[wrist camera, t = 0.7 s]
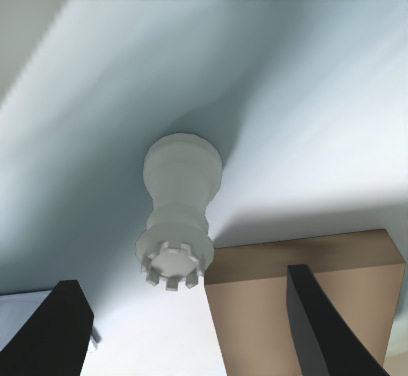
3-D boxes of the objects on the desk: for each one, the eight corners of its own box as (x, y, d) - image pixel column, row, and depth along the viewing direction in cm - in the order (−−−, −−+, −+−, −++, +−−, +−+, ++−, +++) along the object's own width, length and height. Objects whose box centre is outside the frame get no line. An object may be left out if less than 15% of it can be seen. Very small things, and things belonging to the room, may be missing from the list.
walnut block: (227, 346, 31) (228, 381, 29) (204, 250, 24) (204, 285, 22) (367, 333, 30) (382, 369, 27) (385, 228, 23) (406, 263, 21)
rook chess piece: (153, 118, 19) (126, 214, 12) (233, 141, 19) (246, 242, 13) (138, 185, 21) (107, 294, 15) (209, 202, 22) (210, 314, 15)
